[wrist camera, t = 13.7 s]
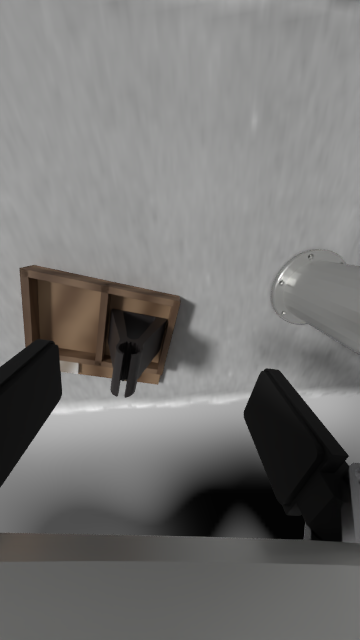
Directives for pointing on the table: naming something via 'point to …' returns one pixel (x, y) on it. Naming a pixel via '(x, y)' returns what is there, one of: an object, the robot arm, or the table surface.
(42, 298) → the bay board
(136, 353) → the phone stand
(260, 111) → the table surface
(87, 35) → the table surface
